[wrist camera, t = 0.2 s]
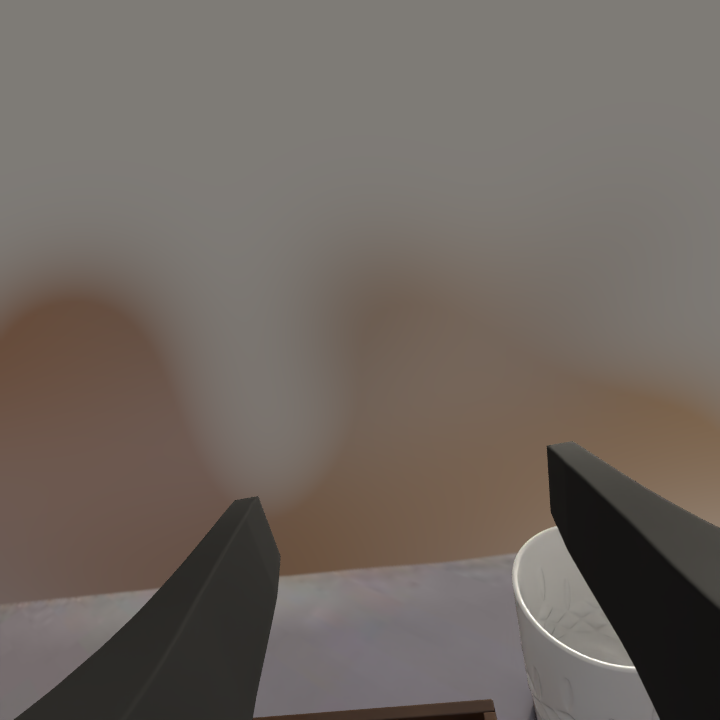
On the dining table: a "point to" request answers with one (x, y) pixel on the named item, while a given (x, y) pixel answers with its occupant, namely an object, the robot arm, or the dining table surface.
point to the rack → (406, 712)
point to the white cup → (571, 641)
